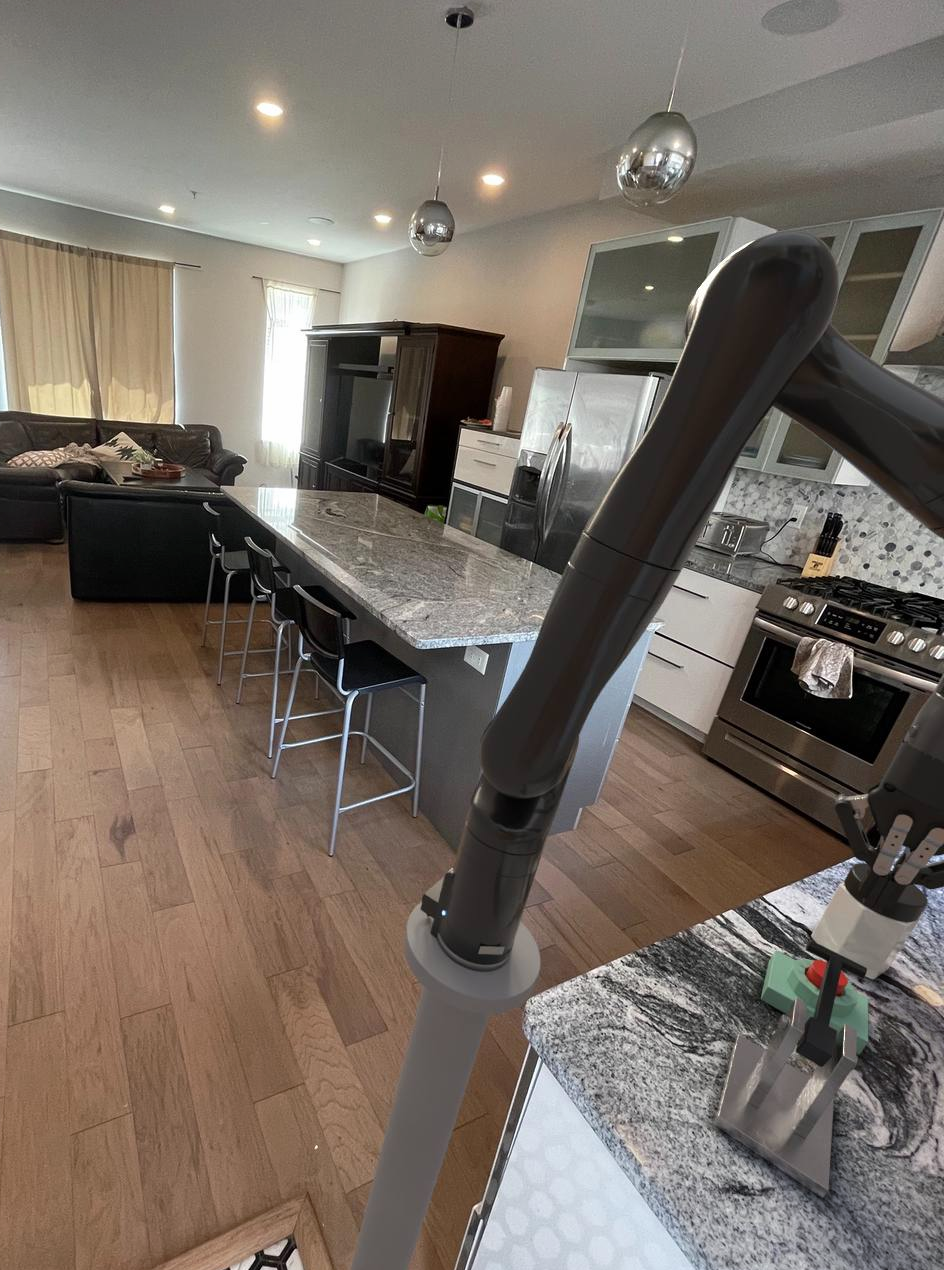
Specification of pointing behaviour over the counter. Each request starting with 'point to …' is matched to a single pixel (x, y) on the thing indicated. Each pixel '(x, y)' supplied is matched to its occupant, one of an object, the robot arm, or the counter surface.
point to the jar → (868, 924)
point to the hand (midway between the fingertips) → (871, 903)
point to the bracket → (786, 1100)
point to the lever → (825, 1006)
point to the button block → (813, 996)
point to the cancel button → (817, 974)
